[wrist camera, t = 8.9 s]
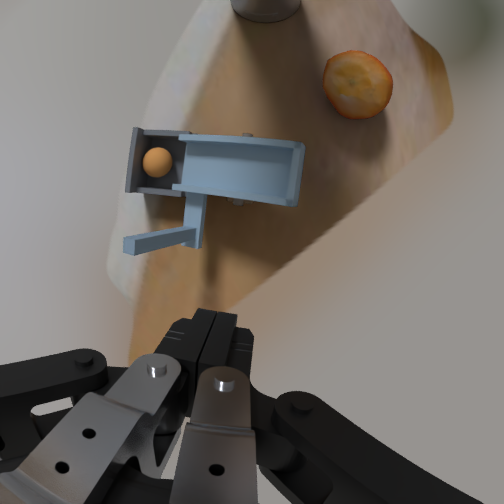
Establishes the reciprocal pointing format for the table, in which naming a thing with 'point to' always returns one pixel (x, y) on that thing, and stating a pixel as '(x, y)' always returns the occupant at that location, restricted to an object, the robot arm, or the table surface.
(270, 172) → the lever
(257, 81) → the table surface
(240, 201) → the fulcrum
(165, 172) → the ball
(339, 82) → the fruit
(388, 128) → the table surface
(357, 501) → the robot arm
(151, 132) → the tray
